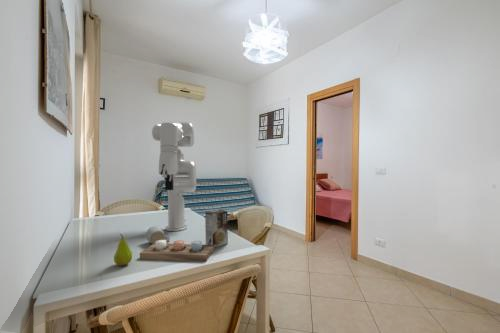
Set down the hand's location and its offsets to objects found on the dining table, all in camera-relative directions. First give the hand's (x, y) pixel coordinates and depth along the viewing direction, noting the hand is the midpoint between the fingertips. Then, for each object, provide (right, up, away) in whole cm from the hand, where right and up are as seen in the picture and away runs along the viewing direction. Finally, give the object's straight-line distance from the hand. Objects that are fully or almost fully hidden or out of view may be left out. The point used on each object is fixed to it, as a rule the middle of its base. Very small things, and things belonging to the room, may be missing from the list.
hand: (169, 189), depth 105 cm
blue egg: (+14, -26, -8) cm, 30 cm away
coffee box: (+21, -27, +6) cm, 35 cm away
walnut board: (+6, -27, -7) cm, 29 cm away
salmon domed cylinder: (+6, -26, -7) cm, 27 cm away
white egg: (-2, -26, -6) cm, 26 cm away
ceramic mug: (-9, -28, +9) cm, 30 cm away
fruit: (-12, -27, -17) cm, 34 cm away
